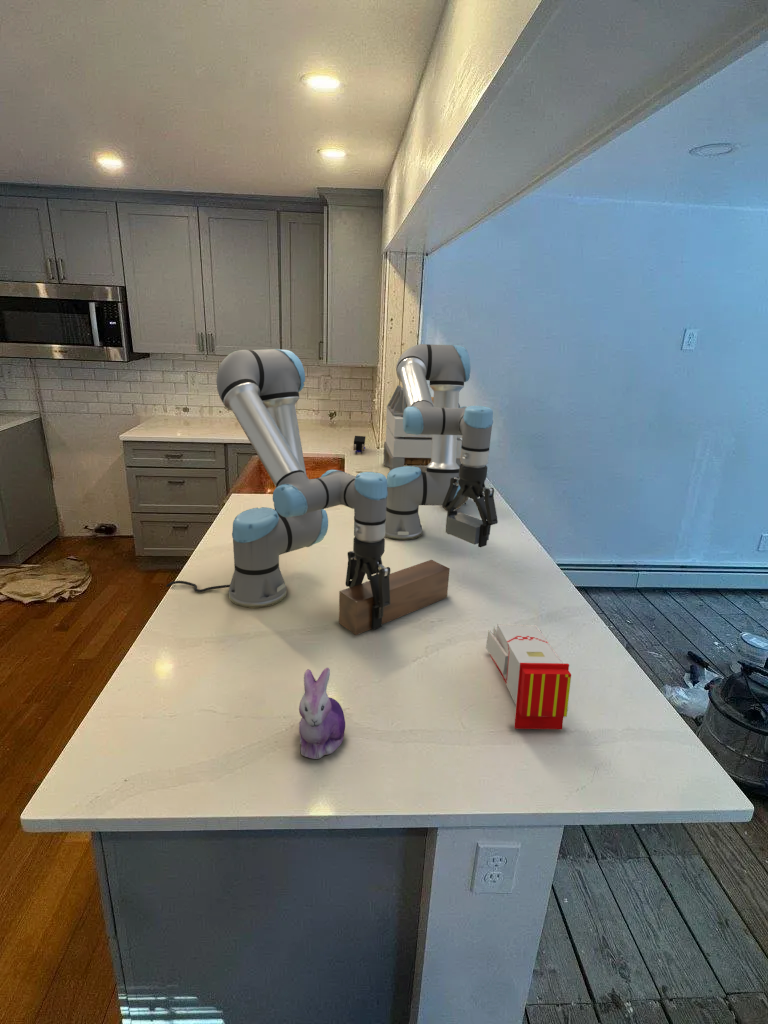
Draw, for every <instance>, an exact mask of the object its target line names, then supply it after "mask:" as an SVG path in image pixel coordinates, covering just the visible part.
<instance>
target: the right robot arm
mask: <svg viewBox="0 0 768 1024" xmlns="http://www.w3.org/2000/svg"><path fill="white" fill-rule="evenodd" d="M395 372H396V376H397V379H398V381H399V382H400V383H401V384H402V385H401V386H402V388H403V390H404V394H405V399H406V403H407V407H406V408H405V409H404V412H403V430H404V432H405V433H407V434H416V435H420V434H428V435H432V450H431V462H430V463H429V464H428V465H427V466H425V467H426V468H425V469H426V471H422V469H421V467H420V466H407V465H404V466H403V467H398V468H394V469H392V470H391V471H390V470H388V473H387V475H386V479H387V491H388V495H387V504H386V528H385V537H384V538H387V539H389V540H395V541H410V540H415V539H418V538H420V537H421V536H422V535H423V525H422V524H421V518H420V515H419V507H420V506H442V508H443V509H445V508H446V509H447V510H446V512H447V514H446V517H447V516H450V515H453V514H457V513H458V511H457V509H456V508H457V506H458V505H459V504H460V502H461V501H462V500H463V498H464V497H469V499H471V500H472V501H473V503H475V505H476V506H475V507H476V508H477V511H478V514H479V517H480V520H482V522H483V524H481V525H480V534H479V543H478V544H477V547H478V548H483V547H486V546H487V545H488V540H487V537H488V536H489V537H490V535H491V527H492V526H493V525H497V524H498V523H499V520H498V514H497V510H496V509H497V508H496V504H495V503H496V502H495V496H494V495H495V488H494V487H487V486H486V484H485V483H486V480H487V475H488V466H487V465H488V464H489V458H490V448H491V440H492V439H491V438H492V429H493V423H494V411H493V409H492V408H491V407H488V406H483V405H467V406H466V405H464V406H460V408H458V406H459V405H460V391H462V390H463V388H464V387H465V383H468V381H470V377H471V359H470V355H469V352H468V350H467V349H466V347H464V346H462V345H455V344H426V343H419V344H415V345H413V346H410V347H409V348H407V349H406V350H405V351H404V352H402V354H401V355H400V357H399V358H398V360H397V362H396V367H395ZM428 381H429V385H428ZM429 387H430V388H429ZM430 389H431V390H432V391H433V397H434V400H433V402H432V398H431V397H432V394H431V392H430ZM457 435H462V438H461V440H462V446H461V458H460V462H461V464H460V467H459V466H458V465H457V463H456V449H457ZM446 534H447V535H449V534H448V533H446Z"/></svg>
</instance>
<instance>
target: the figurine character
mask: <svg viewBox="0 0 768 1024" xmlns="http://www.w3.org/2000/svg"><path fill="white" fill-rule="evenodd" d="M366 438H367V437H366V436H365V435H354V438H353V446H352V447H353V448H352V449H353V451H355V454H358V453H360V454H361V455H362V454H363V452H364V451H365V450H366V446H365V444H366Z"/></svg>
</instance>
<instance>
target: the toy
mask: <svg viewBox="0 0 768 1024" xmlns="http://www.w3.org/2000/svg"><path fill="white" fill-rule="evenodd" d="M486 636H487V637H486V638H487V639H486V644H485V645H486V646H485V649H486V650H487V652H488V653H489V656H490V658H491V660H492V661H493V663H494V665H495V667H496V669H497V670H498V672H499V674H500V676H501V678H502V679H503V681H504V683H505V684H506V687H507V689H508V691H509V694H510V696H511V698H512V700H513V702H514V704H515V715H514V730H563V723H564V717H565V718H566V717H567V716H568V709H569V699H570V692H571V691H570V690H571V682H572V681H571V680H572V673H571V671H569V670H570V669H569V668H570V664H569V663H564V662H563V661H562V659H561V658H560V657H559V655H558V654H557V652H556V651H555V650H554V648H553V647H552V646H551V644H550V643H549V641H548V640H547V638H546V637H545V636H544V634H543V633H542V631H541V630H540V629H539V628H538V626H537V625H536V624H498V623H497V625H496V626H493V631H492V630H488V631H487V635H486Z"/></svg>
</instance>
